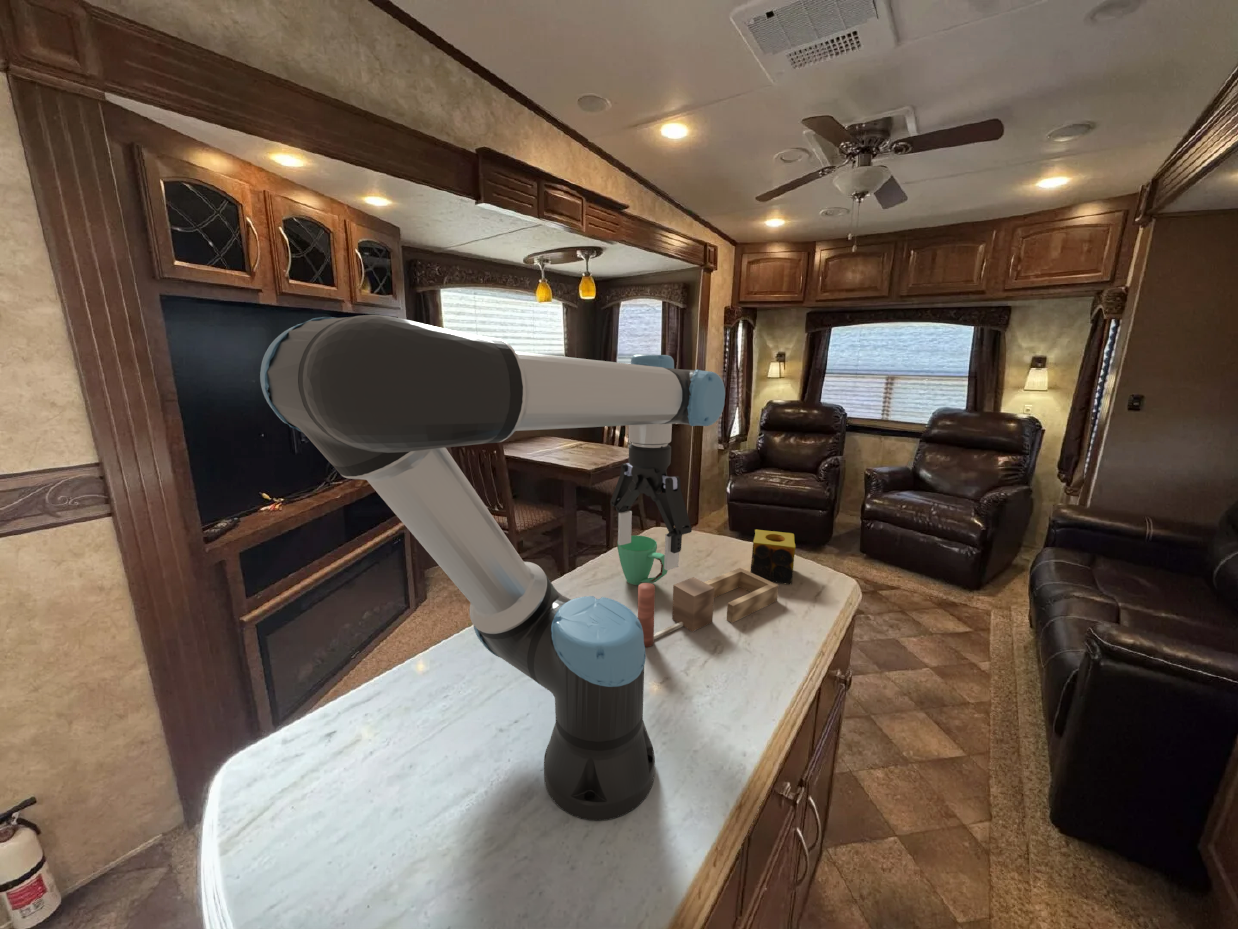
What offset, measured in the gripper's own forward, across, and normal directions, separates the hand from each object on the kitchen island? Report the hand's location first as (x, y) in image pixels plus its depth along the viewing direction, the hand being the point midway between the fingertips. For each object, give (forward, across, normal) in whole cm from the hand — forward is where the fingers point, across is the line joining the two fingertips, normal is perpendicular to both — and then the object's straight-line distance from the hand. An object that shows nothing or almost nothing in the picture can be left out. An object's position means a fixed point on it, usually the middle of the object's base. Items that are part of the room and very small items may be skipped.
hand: (646, 555), depth 91 cm
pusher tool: (+19, 0, -8) cm, 20 cm away
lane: (+18, 0, -27) cm, 32 cm away
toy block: (+18, +4, -46) cm, 49 cm away
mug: (+18, +19, -16) cm, 31 cm away
